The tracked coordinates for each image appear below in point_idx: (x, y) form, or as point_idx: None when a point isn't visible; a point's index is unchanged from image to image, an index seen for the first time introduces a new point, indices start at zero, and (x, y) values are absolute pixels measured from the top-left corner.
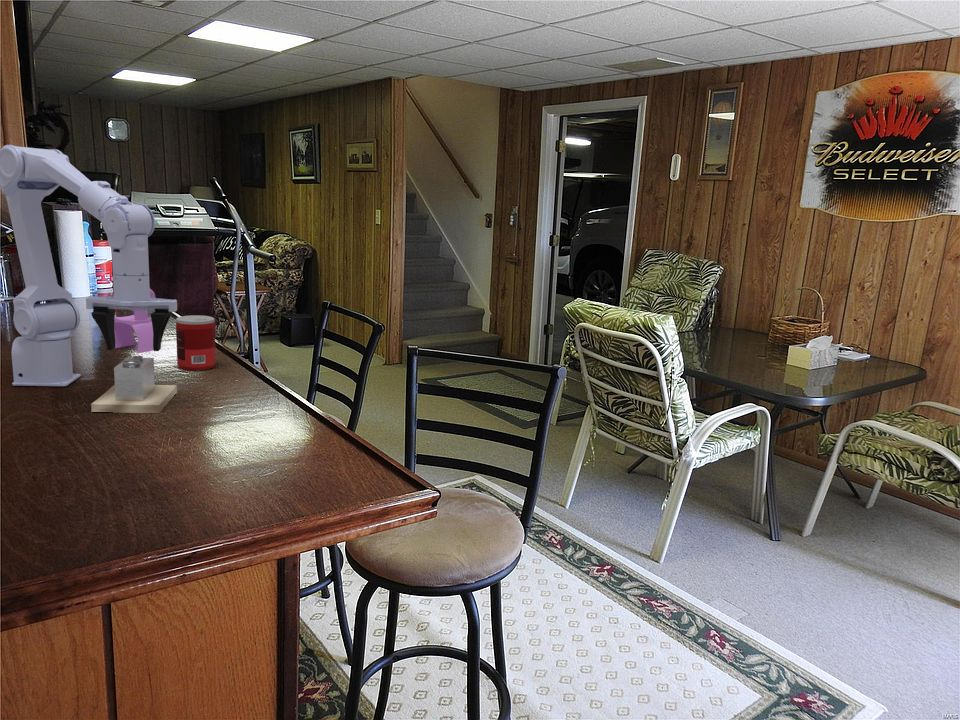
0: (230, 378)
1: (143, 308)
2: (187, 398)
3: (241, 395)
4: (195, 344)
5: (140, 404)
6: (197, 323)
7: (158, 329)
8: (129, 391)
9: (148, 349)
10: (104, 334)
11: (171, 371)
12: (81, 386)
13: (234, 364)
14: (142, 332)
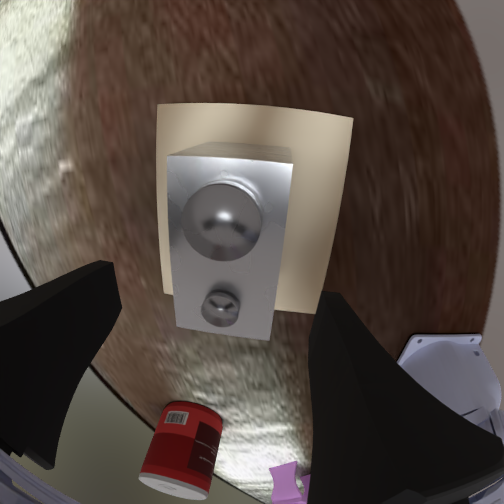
0: (115, 356)
1: (34, 488)
2: (136, 235)
3: (56, 251)
4: (171, 442)
5: (209, 107)
6: (156, 476)
7: (4, 304)
8: (242, 146)
9: (282, 467)
10: (372, 346)
11: (227, 406)
12: (384, 339)
13: (144, 413)
14: (288, 487)
